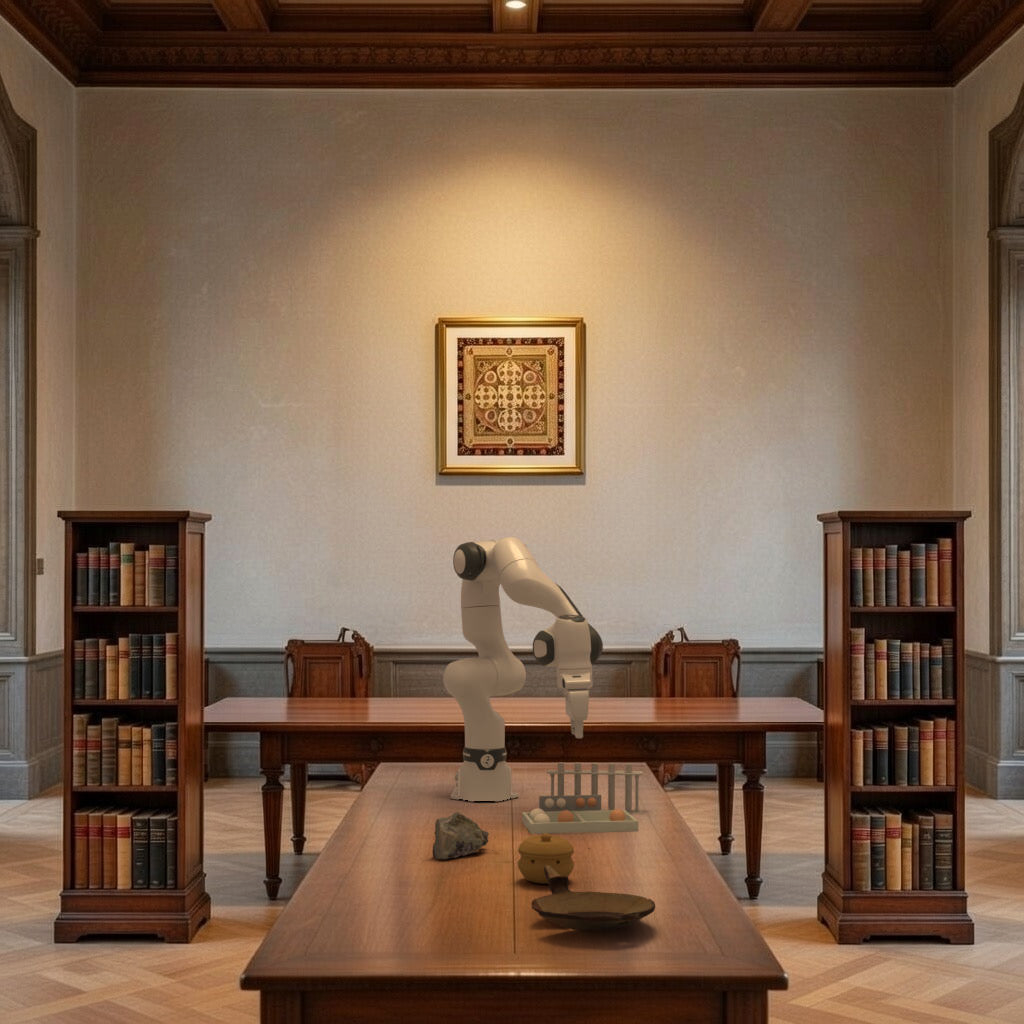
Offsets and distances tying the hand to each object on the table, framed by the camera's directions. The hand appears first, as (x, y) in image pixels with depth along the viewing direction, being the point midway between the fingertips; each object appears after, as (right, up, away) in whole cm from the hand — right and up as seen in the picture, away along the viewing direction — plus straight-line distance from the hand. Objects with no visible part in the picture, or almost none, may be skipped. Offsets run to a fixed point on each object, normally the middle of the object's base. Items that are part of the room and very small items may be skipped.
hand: (577, 736), depth 342 cm
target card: (-1, -23, +11) cm, 26 cm away
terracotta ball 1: (-3, -22, -1) cm, 22 cm away
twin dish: (0, -23, -1) cm, 23 cm away
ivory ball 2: (-9, -22, -5) cm, 24 cm away
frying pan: (-2, -21, -88) cm, 90 cm away
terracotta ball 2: (+10, -22, +1) cm, 24 cm away
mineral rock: (-28, -22, -32) cm, 48 cm away
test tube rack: (+5, -24, +19) cm, 31 cm away
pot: (-9, -21, -55) cm, 60 cm away
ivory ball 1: (-10, -22, +1) cm, 24 cm away
